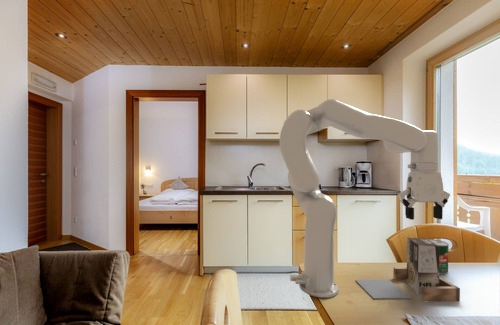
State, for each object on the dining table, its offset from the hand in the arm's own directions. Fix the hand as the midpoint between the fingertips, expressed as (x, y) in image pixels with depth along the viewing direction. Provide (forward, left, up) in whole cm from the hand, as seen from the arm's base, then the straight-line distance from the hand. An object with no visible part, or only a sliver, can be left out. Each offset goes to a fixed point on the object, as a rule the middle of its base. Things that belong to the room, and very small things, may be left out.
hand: (423, 218), depth 84 cm
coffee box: (0, 0, -24) cm, 24 cm away
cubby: (0, 0, -24) cm, 24 cm away
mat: (-14, 0, -24) cm, 28 cm away
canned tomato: (+17, +15, -24) cm, 33 cm away
